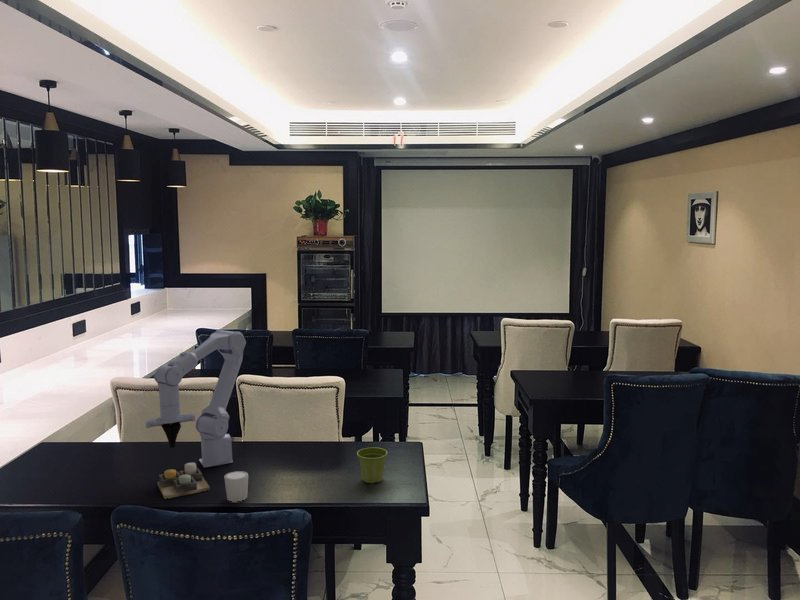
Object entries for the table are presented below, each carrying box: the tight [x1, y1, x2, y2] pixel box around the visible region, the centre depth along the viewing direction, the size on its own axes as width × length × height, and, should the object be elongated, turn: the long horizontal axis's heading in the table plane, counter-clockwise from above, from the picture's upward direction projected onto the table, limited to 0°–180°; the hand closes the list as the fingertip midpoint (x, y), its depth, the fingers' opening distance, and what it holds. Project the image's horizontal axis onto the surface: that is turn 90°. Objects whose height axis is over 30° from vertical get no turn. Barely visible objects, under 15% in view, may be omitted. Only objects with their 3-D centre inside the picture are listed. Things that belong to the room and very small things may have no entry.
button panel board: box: [156, 467, 211, 500], centre depth 208 cm, size 13×12×3 cm
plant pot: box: [356, 447, 388, 484], centre depth 211 cm, size 9×9×9 cm
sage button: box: [179, 474, 191, 485], centre depth 205 cm, size 3×3×3 cm
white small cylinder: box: [184, 462, 197, 475], centre depth 212 cm, size 3×3×3 cm
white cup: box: [223, 470, 249, 503], centre depth 199 cm, size 7×7×7 cm
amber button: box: [163, 468, 177, 480], centre depth 209 cm, size 3×3×3 cm
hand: (172, 446), depth 215 cm, fingers closed
